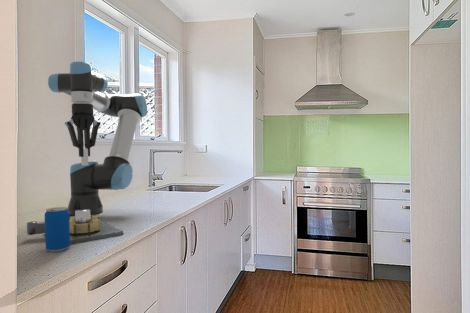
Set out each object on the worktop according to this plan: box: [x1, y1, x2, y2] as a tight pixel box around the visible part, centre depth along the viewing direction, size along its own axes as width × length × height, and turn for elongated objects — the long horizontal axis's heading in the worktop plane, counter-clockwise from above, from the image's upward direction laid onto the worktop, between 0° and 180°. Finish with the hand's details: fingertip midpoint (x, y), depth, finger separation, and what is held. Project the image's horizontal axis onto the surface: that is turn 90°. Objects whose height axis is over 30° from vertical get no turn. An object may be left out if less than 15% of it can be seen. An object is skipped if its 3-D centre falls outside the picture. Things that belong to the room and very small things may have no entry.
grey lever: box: [26, 214, 102, 236], centre depth 118 cm, size 22×11×4 cm, turn 109°
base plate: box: [70, 209, 124, 245], centre depth 120 cm, size 20×20×8 cm
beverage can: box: [44, 206, 71, 253], centre depth 103 cm, size 6×6×12 cm
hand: (85, 165), depth 135 cm, fingers closed
